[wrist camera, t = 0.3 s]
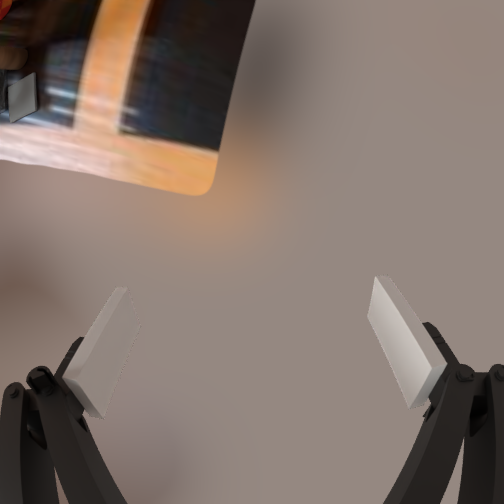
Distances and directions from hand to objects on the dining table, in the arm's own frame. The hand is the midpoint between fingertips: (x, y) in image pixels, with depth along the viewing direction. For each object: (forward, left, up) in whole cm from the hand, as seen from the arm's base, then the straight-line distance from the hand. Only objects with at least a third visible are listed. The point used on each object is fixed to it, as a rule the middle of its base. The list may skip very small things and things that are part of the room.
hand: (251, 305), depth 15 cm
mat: (-21, -37, -28) cm, 51 cm away
